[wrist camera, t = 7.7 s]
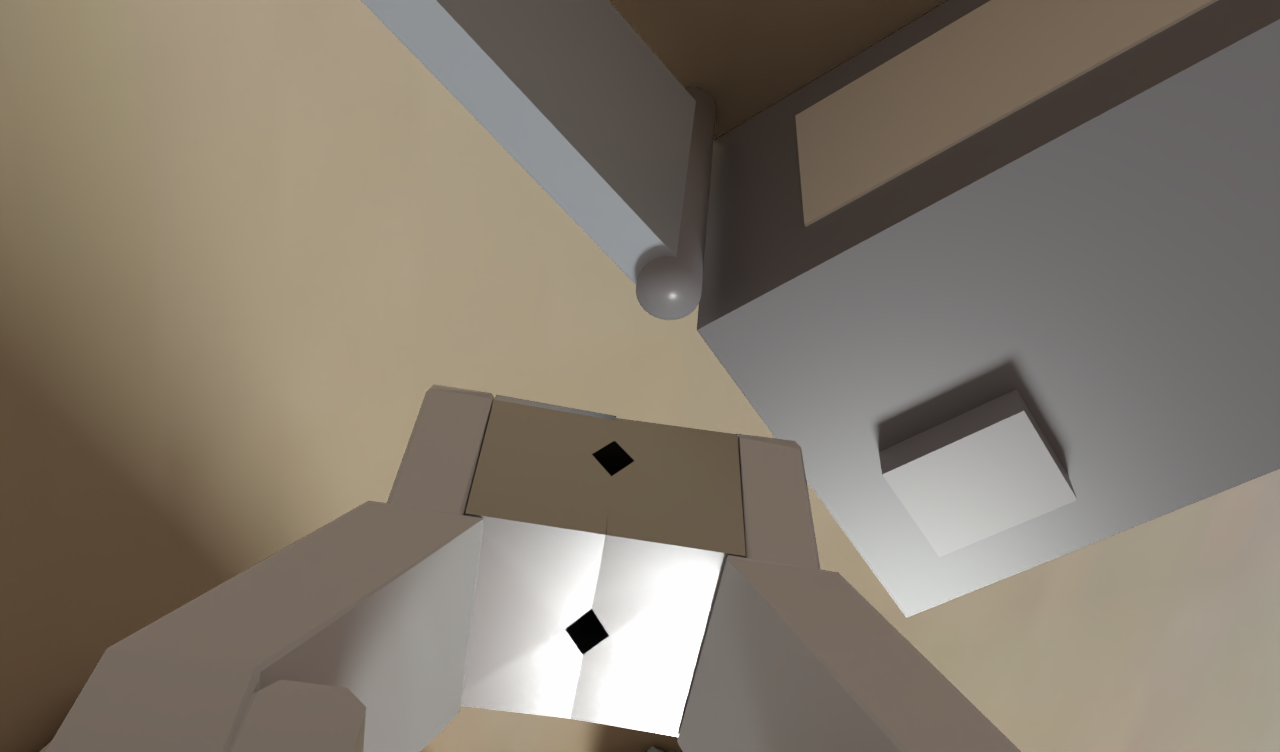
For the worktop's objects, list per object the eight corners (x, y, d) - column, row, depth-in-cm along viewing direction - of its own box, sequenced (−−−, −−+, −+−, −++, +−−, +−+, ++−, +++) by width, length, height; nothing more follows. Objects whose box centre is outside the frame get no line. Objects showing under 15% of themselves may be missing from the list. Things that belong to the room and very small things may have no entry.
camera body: (870, 378, 28) (910, 641, 21) (710, 139, 25) (693, 347, 18) (1394, 123, 24) (1677, 342, 16) (1276, -200, 21) (1557, -109, 13)
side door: (725, 113, 25) (715, 295, 18) (675, 154, 25) (646, 345, 18) (384, -284, 21) (211, -243, 14) (334, -227, 22) (146, -161, 15)
